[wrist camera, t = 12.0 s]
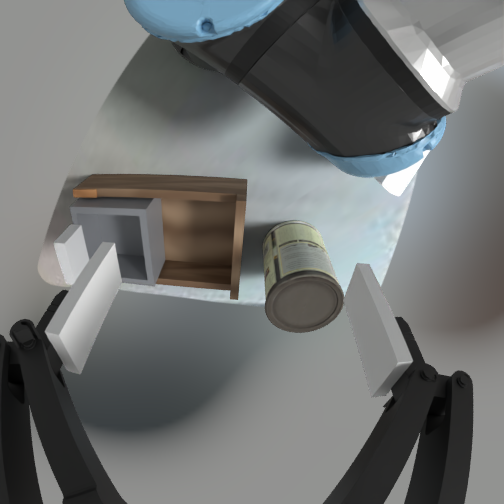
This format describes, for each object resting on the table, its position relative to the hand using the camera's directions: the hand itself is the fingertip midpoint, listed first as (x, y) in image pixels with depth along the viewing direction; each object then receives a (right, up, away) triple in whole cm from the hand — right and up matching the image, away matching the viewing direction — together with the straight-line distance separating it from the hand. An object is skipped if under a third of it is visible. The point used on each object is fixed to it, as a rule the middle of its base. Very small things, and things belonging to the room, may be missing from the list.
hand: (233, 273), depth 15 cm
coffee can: (+8, +2, +33) cm, 34 cm away
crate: (-19, +6, +29) cm, 35 cm away
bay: (-13, +6, +30) cm, 34 cm away
